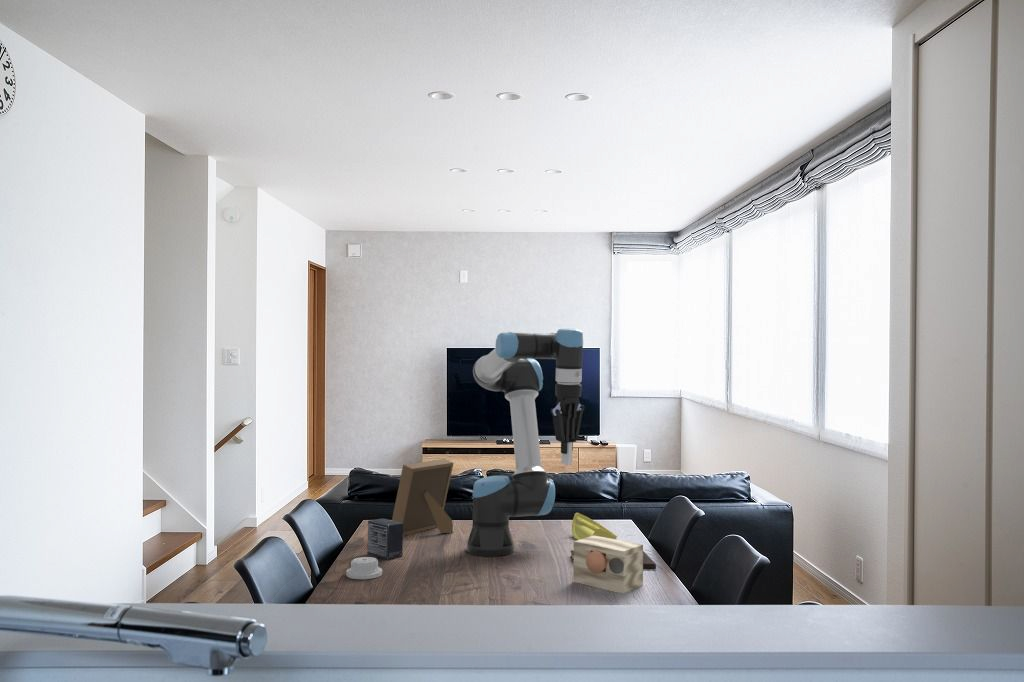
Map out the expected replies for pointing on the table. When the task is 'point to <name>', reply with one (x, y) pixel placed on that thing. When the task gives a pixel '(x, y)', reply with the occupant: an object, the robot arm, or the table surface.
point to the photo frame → (423, 497)
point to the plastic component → (588, 528)
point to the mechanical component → (364, 568)
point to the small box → (385, 538)
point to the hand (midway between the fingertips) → (566, 464)
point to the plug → (596, 561)
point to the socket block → (610, 564)
